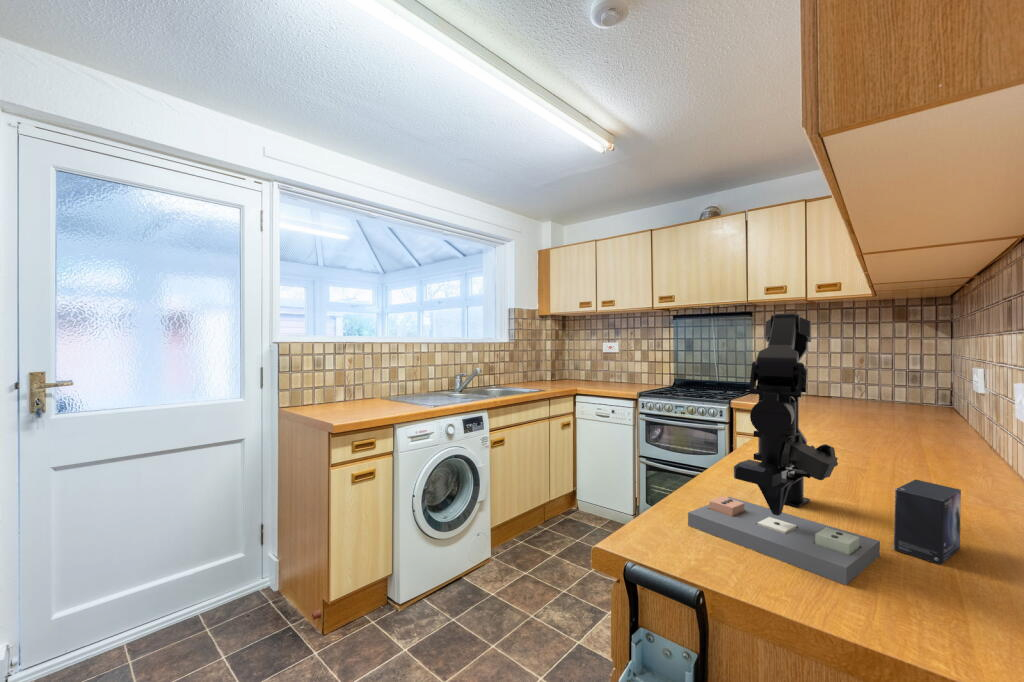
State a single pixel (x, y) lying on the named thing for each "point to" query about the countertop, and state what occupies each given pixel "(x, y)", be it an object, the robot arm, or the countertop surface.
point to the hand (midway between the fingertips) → (776, 514)
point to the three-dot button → (726, 506)
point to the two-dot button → (837, 541)
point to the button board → (787, 541)
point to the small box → (927, 520)
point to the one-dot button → (777, 525)
